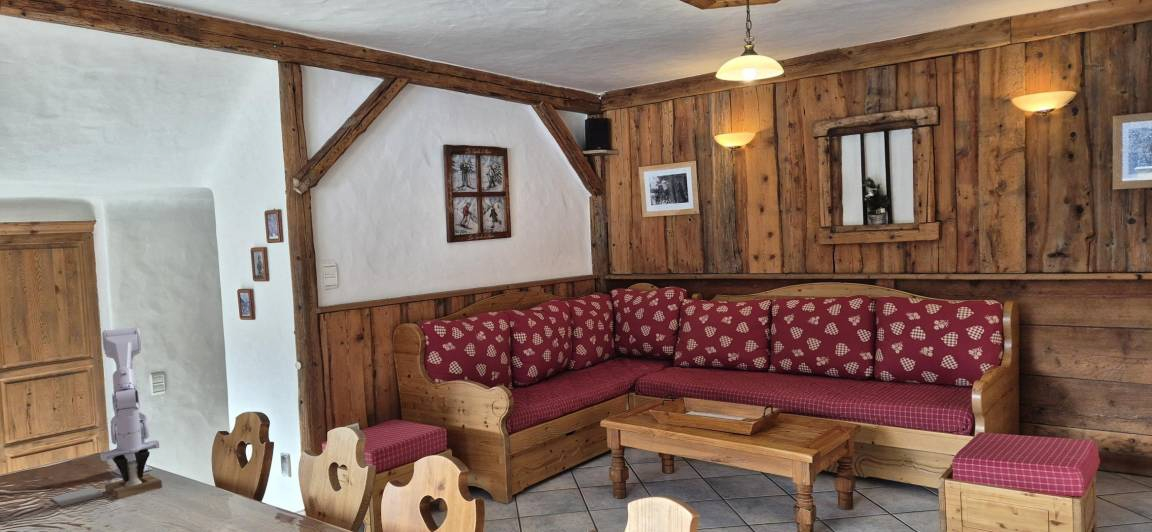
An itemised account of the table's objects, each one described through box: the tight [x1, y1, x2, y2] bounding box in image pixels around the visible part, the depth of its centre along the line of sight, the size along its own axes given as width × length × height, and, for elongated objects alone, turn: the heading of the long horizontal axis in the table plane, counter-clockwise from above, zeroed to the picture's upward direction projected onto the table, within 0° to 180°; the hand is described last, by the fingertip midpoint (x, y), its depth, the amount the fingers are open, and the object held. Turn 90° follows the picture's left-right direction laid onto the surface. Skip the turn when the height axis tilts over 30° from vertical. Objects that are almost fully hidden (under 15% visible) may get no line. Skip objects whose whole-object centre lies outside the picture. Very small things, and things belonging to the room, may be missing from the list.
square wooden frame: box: [104, 473, 163, 500], centre depth 214 cm, size 11×11×2 cm
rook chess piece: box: [125, 460, 142, 487], centre depth 214 cm, size 4×4×8 cm
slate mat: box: [50, 486, 104, 508], centre depth 210 cm, size 10×10×1 cm
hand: (133, 479), depth 214 cm, fingers closed on rook chess piece, 3 cm apart
